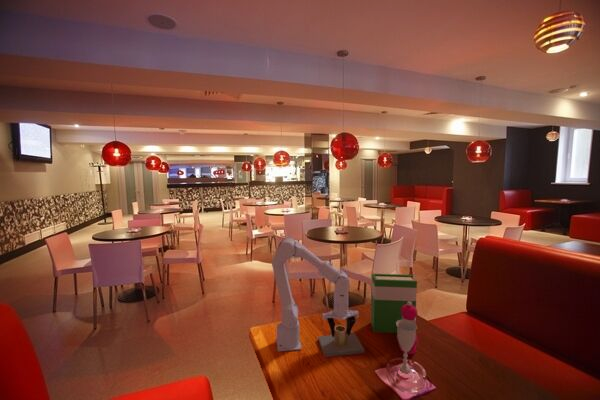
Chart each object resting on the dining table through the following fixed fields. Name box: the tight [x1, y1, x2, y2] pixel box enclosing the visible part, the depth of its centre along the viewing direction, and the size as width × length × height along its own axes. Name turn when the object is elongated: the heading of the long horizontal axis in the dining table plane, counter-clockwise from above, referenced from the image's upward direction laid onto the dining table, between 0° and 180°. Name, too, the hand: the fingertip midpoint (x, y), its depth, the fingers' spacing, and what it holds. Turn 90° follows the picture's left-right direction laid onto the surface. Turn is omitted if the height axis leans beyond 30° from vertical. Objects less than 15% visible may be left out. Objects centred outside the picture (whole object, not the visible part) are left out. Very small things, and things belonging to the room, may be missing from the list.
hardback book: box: [370, 273, 418, 334], centre depth 123 cm, size 18×7×24 cm, turn 85°
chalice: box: [396, 319, 418, 374], centre depth 96 cm, size 7×7×18 cm
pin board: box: [317, 332, 365, 358], centre depth 111 cm, size 16×11×6 cm
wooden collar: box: [334, 324, 347, 347], centre depth 111 cm, size 5×5×6 cm
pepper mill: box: [398, 301, 419, 355], centre depth 109 cm, size 7×7×20 cm
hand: (340, 334), depth 111 cm, fingers open, 6 cm apart
